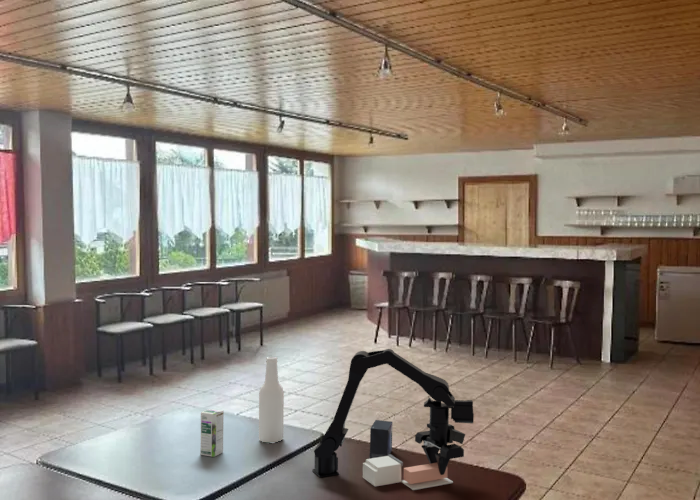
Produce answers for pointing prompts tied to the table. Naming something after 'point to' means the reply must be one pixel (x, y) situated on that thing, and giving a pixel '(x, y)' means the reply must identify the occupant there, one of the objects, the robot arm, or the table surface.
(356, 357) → the robot arm
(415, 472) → the salmon pink block
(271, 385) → the alcohol
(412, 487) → the mat
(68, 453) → the table surface
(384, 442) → the small box
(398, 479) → the block
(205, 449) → the syrup box
